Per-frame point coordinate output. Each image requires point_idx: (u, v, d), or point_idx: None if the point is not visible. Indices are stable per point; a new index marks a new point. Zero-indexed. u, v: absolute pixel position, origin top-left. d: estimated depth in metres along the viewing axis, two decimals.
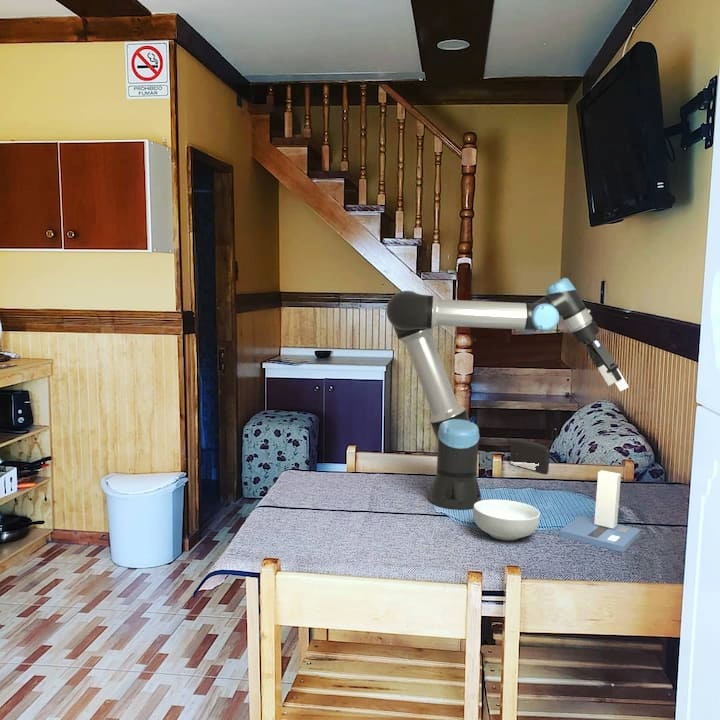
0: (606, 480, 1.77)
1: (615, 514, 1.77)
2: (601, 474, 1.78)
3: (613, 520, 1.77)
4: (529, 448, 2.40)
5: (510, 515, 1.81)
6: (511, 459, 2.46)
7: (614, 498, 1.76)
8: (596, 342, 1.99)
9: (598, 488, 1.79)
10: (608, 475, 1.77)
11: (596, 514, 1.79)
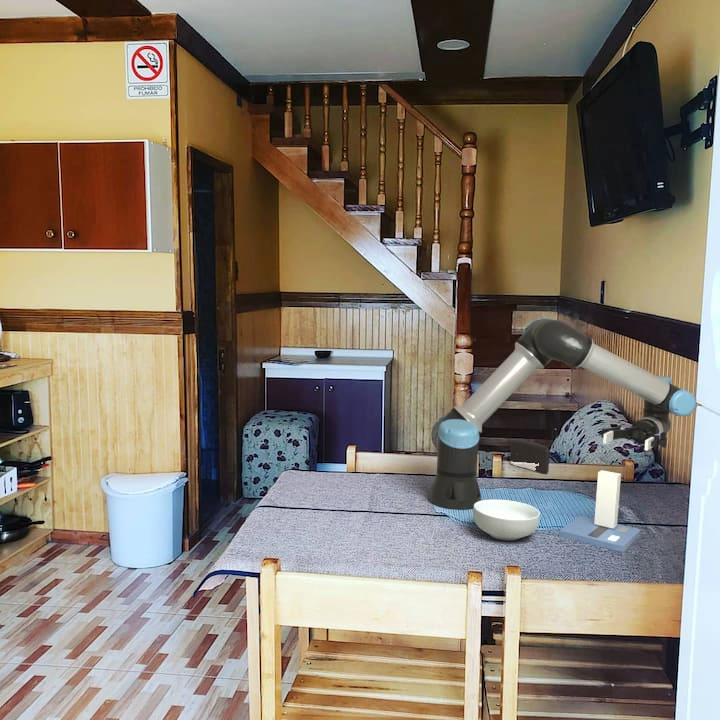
0: (606, 480, 1.77)
1: (615, 514, 1.77)
2: (601, 474, 1.78)
3: (613, 520, 1.77)
4: (529, 448, 2.40)
5: (510, 515, 1.81)
6: (511, 459, 2.46)
7: (614, 498, 1.76)
8: None
9: (598, 488, 1.79)
10: (608, 475, 1.77)
11: (596, 514, 1.79)
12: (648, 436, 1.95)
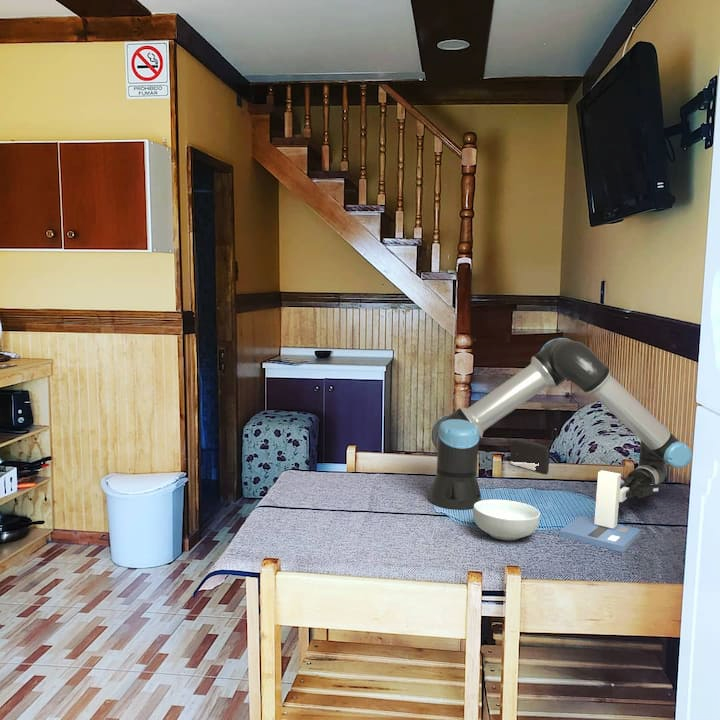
0: (606, 480, 1.77)
1: (615, 514, 1.77)
2: (601, 474, 1.78)
3: (613, 520, 1.77)
4: (529, 448, 2.40)
5: (510, 515, 1.81)
6: (511, 459, 2.46)
7: (614, 498, 1.76)
8: (657, 489, 1.97)
9: (598, 488, 1.79)
10: (608, 475, 1.77)
11: (596, 514, 1.79)
12: None
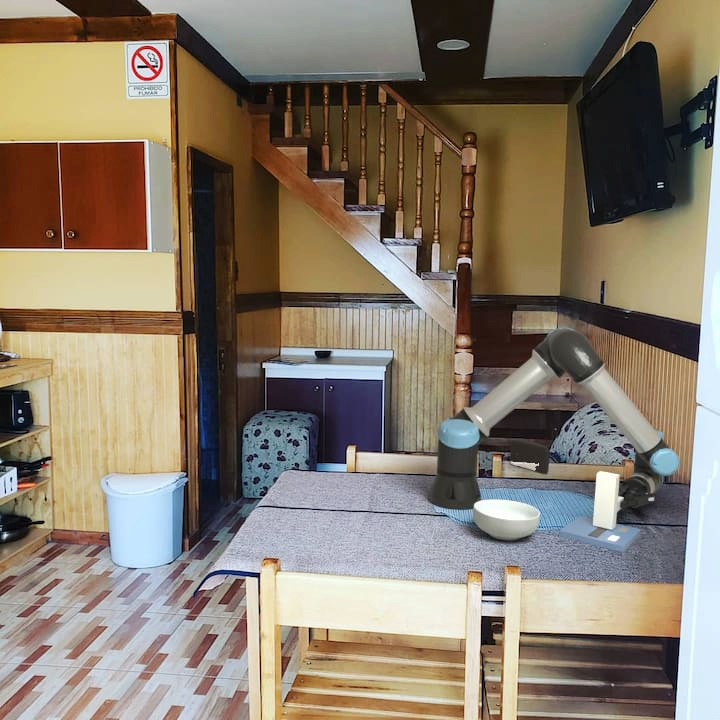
0: (605, 481, 1.76)
1: (614, 515, 1.76)
2: (600, 475, 1.77)
3: (612, 521, 1.76)
4: (529, 448, 2.40)
5: (510, 515, 1.81)
6: (511, 459, 2.46)
7: (613, 499, 1.75)
8: (653, 499, 1.88)
9: (597, 489, 1.78)
10: (607, 476, 1.76)
11: (595, 515, 1.79)
12: None
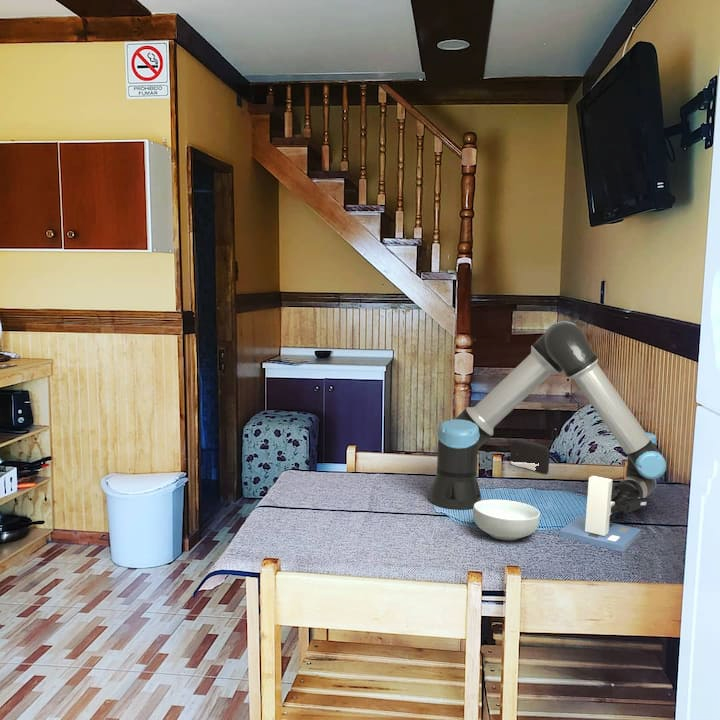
0: (597, 486, 1.72)
1: (606, 521, 1.71)
2: (592, 480, 1.72)
3: (604, 527, 1.71)
4: (529, 448, 2.40)
5: (510, 515, 1.81)
6: (511, 459, 2.46)
7: (605, 504, 1.71)
8: (645, 503, 1.83)
9: (589, 494, 1.73)
10: (599, 481, 1.71)
11: (587, 521, 1.74)
12: None
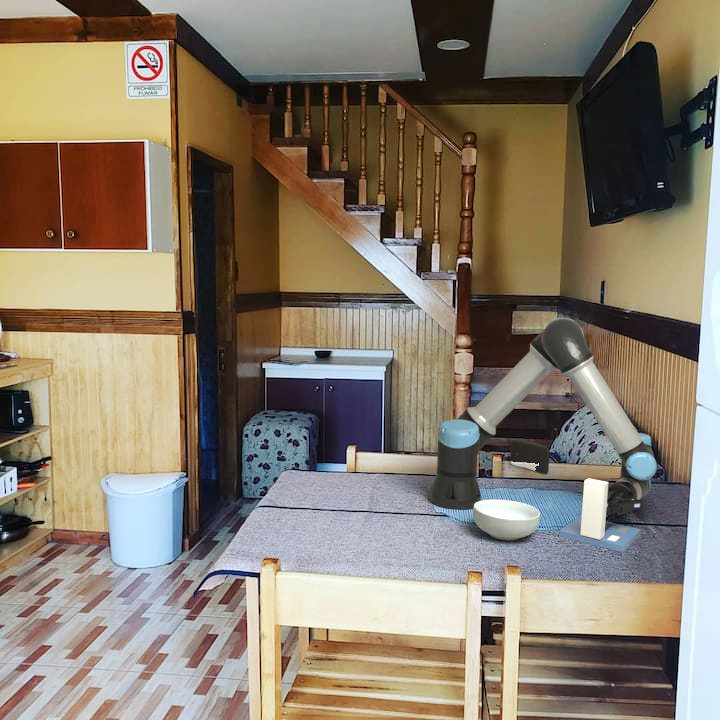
0: (593, 489, 1.69)
1: (602, 524, 1.69)
2: (587, 482, 1.70)
3: (600, 531, 1.68)
4: (529, 448, 2.40)
5: (510, 515, 1.81)
6: (511, 459, 2.46)
7: (601, 508, 1.68)
8: (639, 505, 1.81)
9: (584, 497, 1.70)
10: (595, 483, 1.68)
11: (582, 524, 1.71)
12: None
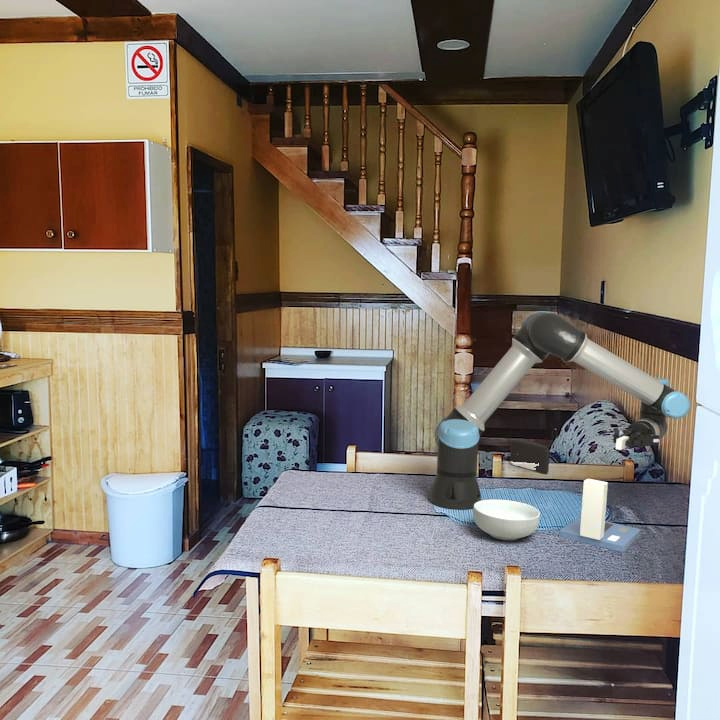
0: (592, 489, 1.69)
1: (601, 525, 1.68)
2: (587, 483, 1.69)
3: (599, 531, 1.68)
4: (529, 448, 2.40)
5: (510, 515, 1.81)
6: (511, 459, 2.46)
7: (600, 508, 1.68)
8: (658, 440, 1.91)
9: (584, 497, 1.70)
10: (594, 484, 1.68)
11: (582, 525, 1.71)
12: None
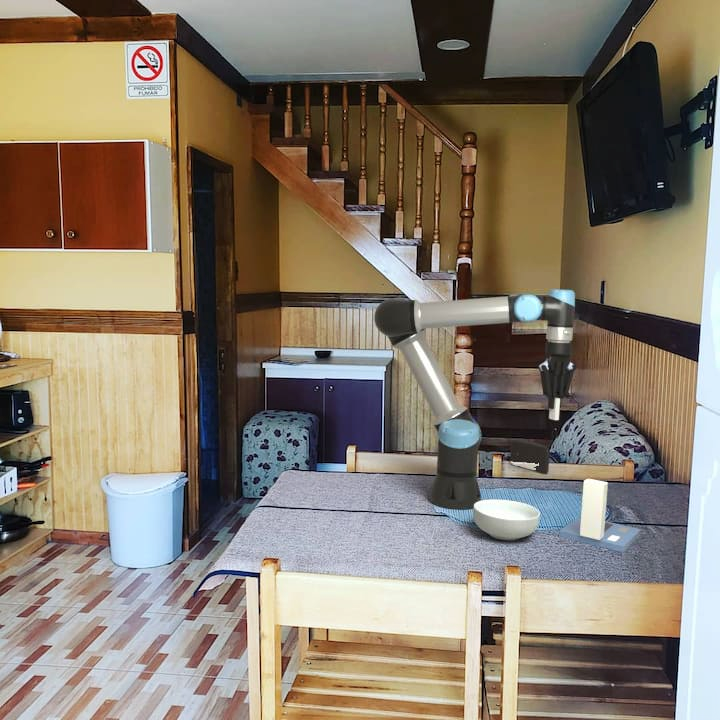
0: (592, 489, 1.69)
1: (601, 525, 1.68)
2: (587, 483, 1.69)
3: (599, 531, 1.68)
4: (529, 448, 2.40)
5: (510, 515, 1.81)
6: (511, 459, 2.46)
7: (600, 508, 1.68)
8: (540, 367, 2.02)
9: (584, 497, 1.70)
10: (594, 484, 1.68)
11: (582, 525, 1.71)
12: None
